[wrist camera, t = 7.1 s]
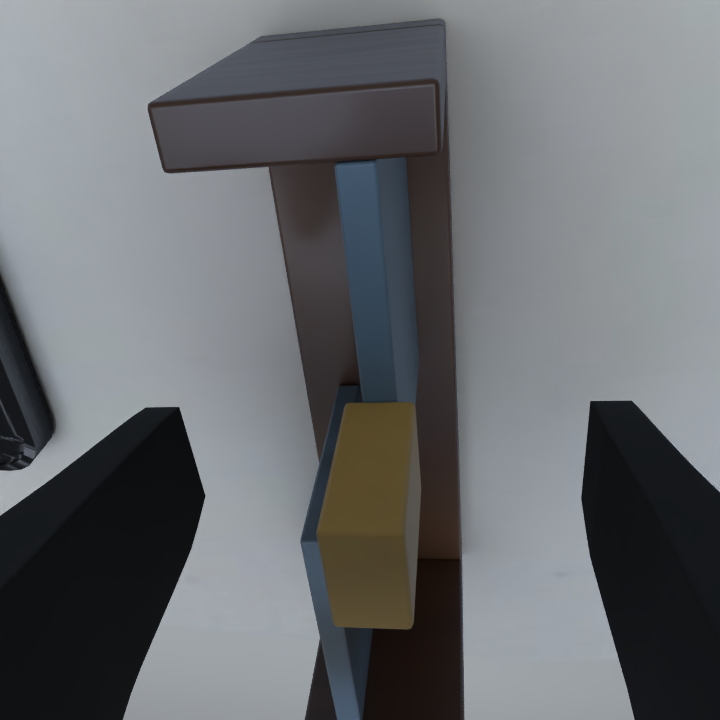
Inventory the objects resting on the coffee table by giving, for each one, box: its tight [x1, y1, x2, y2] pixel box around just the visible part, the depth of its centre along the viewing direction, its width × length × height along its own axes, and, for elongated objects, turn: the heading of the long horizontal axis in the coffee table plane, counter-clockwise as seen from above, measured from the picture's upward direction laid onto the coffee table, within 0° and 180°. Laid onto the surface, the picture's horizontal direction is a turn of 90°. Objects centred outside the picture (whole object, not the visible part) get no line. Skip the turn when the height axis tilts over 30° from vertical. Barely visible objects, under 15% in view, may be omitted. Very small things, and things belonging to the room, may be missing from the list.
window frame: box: [148, 19, 464, 720], centre depth 16 cm, size 16×4×6 cm, turn 6°
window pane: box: [316, 158, 421, 629], centre depth 12 cm, size 7×1×8 cm, turn 6°
